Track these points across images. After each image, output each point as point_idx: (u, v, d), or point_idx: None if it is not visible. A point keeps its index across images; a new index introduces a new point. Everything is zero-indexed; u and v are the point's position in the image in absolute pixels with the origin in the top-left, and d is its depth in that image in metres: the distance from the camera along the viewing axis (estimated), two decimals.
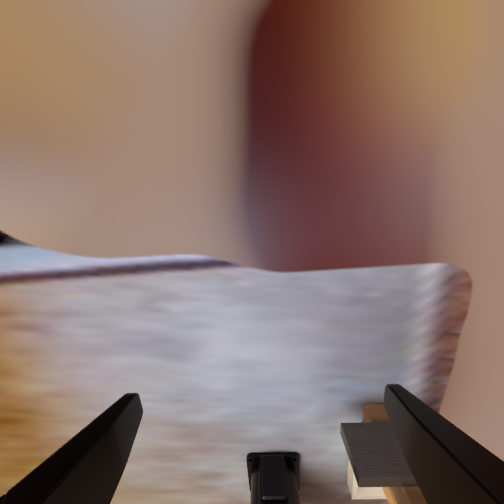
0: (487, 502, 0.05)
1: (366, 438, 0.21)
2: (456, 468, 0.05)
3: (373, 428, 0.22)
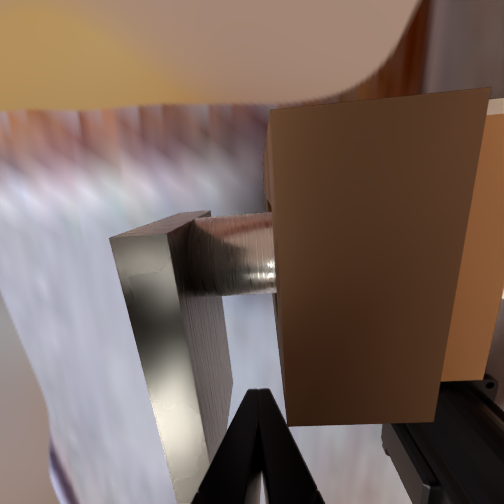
0: None
1: None
2: None
3: None
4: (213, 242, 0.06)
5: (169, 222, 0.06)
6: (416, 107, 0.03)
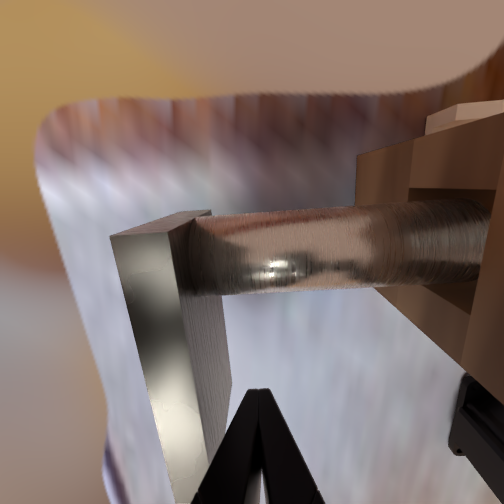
0: None
1: None
2: None
3: None
4: (214, 241, 0.06)
5: (170, 221, 0.06)
6: None
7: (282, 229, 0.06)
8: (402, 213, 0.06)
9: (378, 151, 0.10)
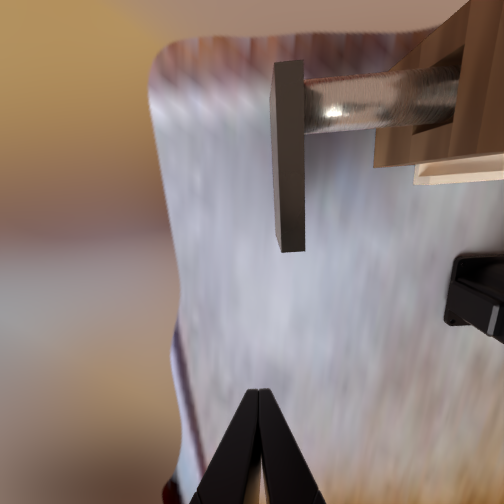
0: None
1: (275, 209, 0.14)
2: None
3: (274, 192, 0.15)
4: (313, 85, 0.11)
5: None
6: None
7: (350, 79, 0.11)
8: (416, 69, 0.11)
9: (396, 65, 0.15)
